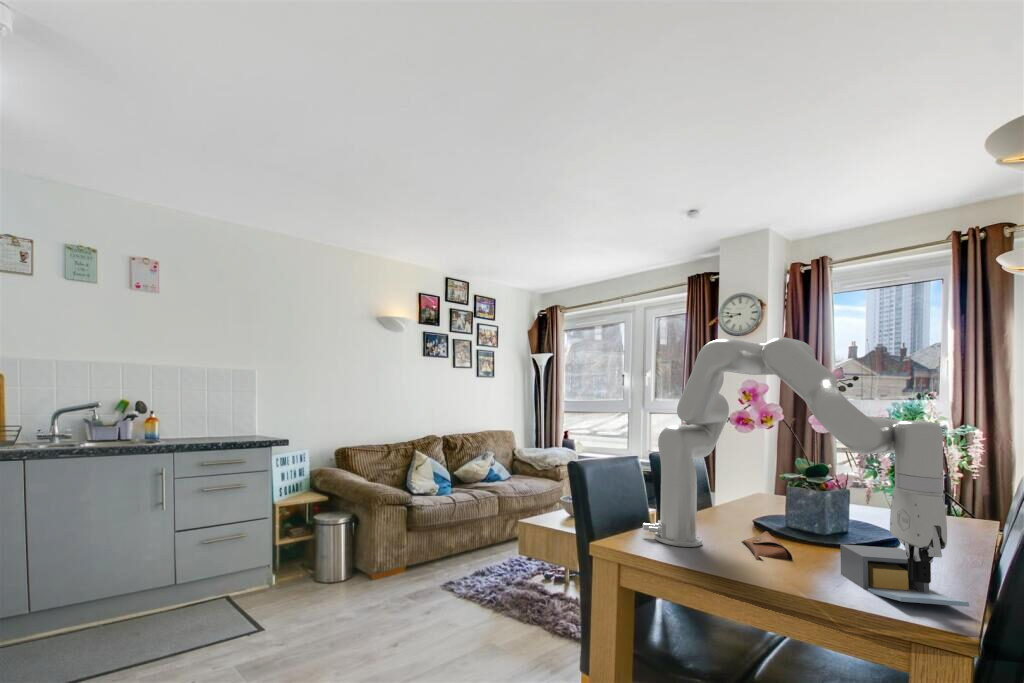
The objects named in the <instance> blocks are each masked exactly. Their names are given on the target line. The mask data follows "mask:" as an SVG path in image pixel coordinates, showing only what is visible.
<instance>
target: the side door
mask: <svg viewBox="0 0 1024 683" xmlns="http://www.w3.org/2000/svg"><path fill="white" fill-rule="evenodd" d="M867 591H868V592H870V593H871V594H873V595H877V596H880V597H883V598H887V599H891V600H895V601H899V602H904V603H917V604H918V603H920V604H928V605H929V604H930V605H931V604H932V605H941V606H957V607H968V608H970V602H969V601H965V600H961V599H957V598H952V597H948V596H944V595H940V594H935V593H932V592H929V593H925V592H920V591H912V590H911V591H909V590H900V589H887V588H874V587H873V588H872V587H871V588H870V587H868V589H867Z"/></svg>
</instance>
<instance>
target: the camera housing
mask: <svg viewBox="0 0 1024 683" xmlns="http://www.w3.org/2000/svg"><path fill="white" fill-rule="evenodd" d="M839 548H840V549H839V550H840V575H841V576H843V577H844V578H846V579H848V580H849V581H851V582H852V583H853V584H855V585H856V586H858V587H860V588H861V589H863V590H868V588H869V585H870V586H872V587H873V588H878V589H891V590H904V591H909V588H910V587H911V588H913V589H916V590H917V591H918V592H925V593H930V583H920V582H914V581H912V580H910V579H908V558H909V557H907V556H906V552H905V549H903V548H895V547H885V546H882V547H881V546H869V545H858V544H857V545H856V544H844V543H843V544H840V546H839Z"/></svg>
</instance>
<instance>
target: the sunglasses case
mask: <svg viewBox="0 0 1024 683" xmlns="http://www.w3.org/2000/svg"><path fill="white" fill-rule="evenodd" d="M741 544H743V545H745V547H746V548H747V549H748V550H749V551H750V552H751V554H752V555H753V556H754V558H755V559H756V561H761V562H763V561H765V560H764V559H762V558H761V557H763V558H769V559H777V560H785V561H787V560H788V561H793V556H792V553H791V552H790V551H789V550H788V548H786V547H785V546H784V545H783V544H782V543H781V542H780V541H778V540H777V539H776V537H774V536H772V534H770V533H769V531H767V530H766V531H764V532H762V533H761V534H759V535H756V536H753V537H750V538H747V539H744V540H742V541H741Z"/></svg>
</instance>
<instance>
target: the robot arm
mask: <svg viewBox="0 0 1024 683" xmlns="http://www.w3.org/2000/svg"><path fill="white" fill-rule="evenodd" d="M815 354H816V353H815V352H814V350H813V348H812V347H811V346H810V345H809V344H808V343H806V342H804V341H802V340H800V339H794V338H789V337H784V336H781V337H774V338H772V339H770V340H768V341H767V342H763V343H760V342H759V343H757V342H756V343H754V342H749V341H745V340H740V339H735V338H734V339H732V338H720V339H718V338H717V339H715V340H712V341H709V342H708V343H706V344H705V345H703V347H701V348H700V350H699V352H698V354H697V356H696V359H695V362H694V364H693V368H692V370H691V373H690V375H689V378H688V380H687V382H686V385H685V387H684V389H683V391H682V394H681V396H680V398H679V400H678V404H677V407H676V414H677V416H678V418H679V419H680V421H681V422H683V423H685V424H672V425H668V426H667V427H665V428H663V429H662V431H661V432H660V433H659V436H658V439H657V445H658V446H657V447H658V452H659V454H658V455H659V459H660V517H659V518H660V519H658V520H657V522H654V523H647V522H642V530H643V531H648V532H649V533H654V536H653V537H654V539H655V540H656V541H658V542H660V543H661V544H665V545H668V546H675V547H682V548H683V547H685V548H694V547H699V546H701V545H702V544H703V539H702V537H700V536H699V535H697V513H698V512H697V508H698V506H697V505H698V504H697V503H698V502H697V501H698V477H697V470H696V466H695V464H694V463H695V462H694V460H693V459H701V458H702V459H703V458H705V457H708V456H709V455H710V454H711V453H712V452H713V451H714V449H715V447H716V445H717V444H718V441H719V438H720V436H721V434H722V432H723V429H724V427H725V425H726V423H727V420H728V418H729V414H730V408H729V407H730V406H729V403H728V400H727V398H726V397H724V395H722V394H721V393H720V391H721V389H722V387H723V385H724V376H725V375H724V374H725V372H728V373H735V374H742V375H749V376H750V375H751V376H759V375H760V376H766V375H767V376H771V375H773V376H774V375H775V376H776V377H778V379H780V380H781V381H783V382H784V383H785V385H787V386H788V387H789V388H790V389H791V390H792V391H793V392H794V393H796V394H797V395H798V396H799V397H800V398H801V399H802V400H803V401H804V402H805V404H806V406H807V407H808V409H809V411H810V412H811V414H812V415H813V417H814V418H815V419H816V420H817V422H818V423H819V424H820V425H821V426H822V427H823V428H824V429H825V430H826V431H827V432H828V433H830V435H832V436H833V437H834V438H835V439H836V440H837V441H839V443H841V444H842V445H843V446H844V447H846V448H847V449H849V450H850V451H853V452H855V453H857V454H861V455H871V454H884V453H885V454H887V453H889V454H890V453H892V454H894V488H893V489H892V490H893V491H892V494H891V495H892V496H891V501H890V513H889V514H890V516H889V532H890V534H891V535H892V536H893V538H895V539H898V541H899V543H901V544H902V545H903V546H904V550H905V552H906V556H907V557H909V558H908V579H910V580H912V581H914V582H920V583H929V584H931V583H932V566H931V565H932V563H933V562H934V558H940V559H941V558H942V557H943V553H942V550H944V549H946V548H947V545H948V525H947V523H948V522H947V513H946V512H947V511H946V506H945V500H944V450H943V449H944V448H943V447H944V443H943V442H944V441H943V440H944V439H943V438H944V436H943V428H942V427H941V426H940V424H938V423H936V422H932V421H922V420H897V419H891V418H887V417H880V416H867V415H866V414H864V413H863V412H862V411H860V409H858V407H856V406H855V405H854V404H852V402H850V401H849V400H848V399H847V398H846V397H845V396H844V394H842V393H841V391H840V390H839V387H838V378H837V377H836V375H835V373H833V372H832V371H830V370H829V369H828V368H827V367H825V365H823V364H822V363H821V362H819V360H817V359H816V355H815Z"/></svg>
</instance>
